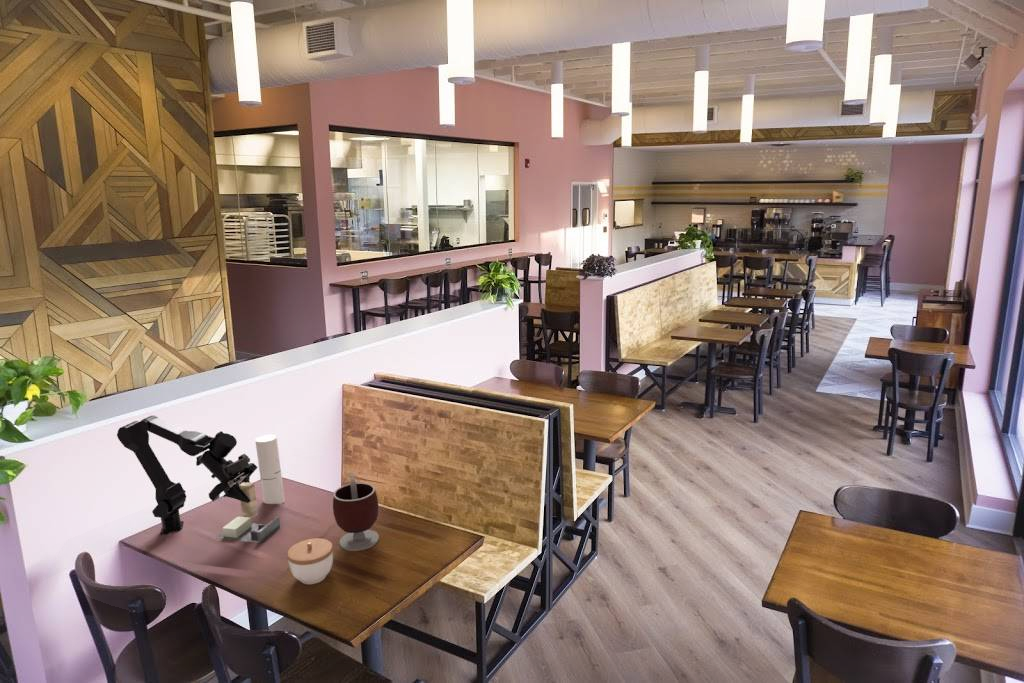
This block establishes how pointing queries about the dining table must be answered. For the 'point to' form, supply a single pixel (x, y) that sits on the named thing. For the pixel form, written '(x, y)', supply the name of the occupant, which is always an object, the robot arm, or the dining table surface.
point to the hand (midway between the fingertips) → (252, 500)
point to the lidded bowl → (311, 560)
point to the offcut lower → (238, 532)
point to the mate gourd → (356, 514)
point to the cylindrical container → (270, 469)
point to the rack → (256, 532)
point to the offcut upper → (236, 525)
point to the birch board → (249, 491)
